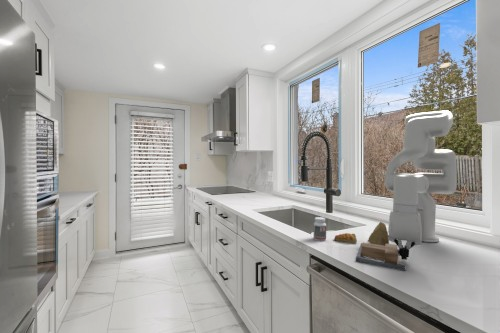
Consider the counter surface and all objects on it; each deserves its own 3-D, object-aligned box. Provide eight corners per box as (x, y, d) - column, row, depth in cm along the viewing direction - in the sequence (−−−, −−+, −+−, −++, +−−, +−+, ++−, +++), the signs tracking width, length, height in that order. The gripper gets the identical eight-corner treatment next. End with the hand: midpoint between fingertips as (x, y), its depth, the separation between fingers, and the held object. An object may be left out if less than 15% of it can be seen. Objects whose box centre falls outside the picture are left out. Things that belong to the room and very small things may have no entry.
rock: (396, 246, 98) (395, 236, 107) (382, 228, 100) (382, 220, 108) (372, 257, 103) (373, 247, 112) (359, 240, 105) (360, 231, 113)
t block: (363, 249, 101) (363, 239, 101) (397, 255, 95) (397, 245, 95) (360, 259, 90) (360, 248, 90) (397, 266, 84) (398, 255, 84)
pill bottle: (328, 240, 112) (329, 219, 112) (317, 241, 110) (318, 220, 110) (321, 237, 117) (321, 216, 117) (311, 237, 116) (311, 217, 115)
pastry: (335, 243, 109) (336, 234, 109) (333, 238, 116) (333, 230, 116) (357, 244, 108) (358, 235, 108) (353, 239, 114) (354, 231, 114)
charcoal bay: (361, 246, 104) (361, 243, 104) (402, 253, 97) (402, 249, 97) (355, 261, 89) (355, 257, 88) (405, 271, 81) (405, 266, 81)
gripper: (428, 209, 88) (427, 259, 88) (381, 205, 95) (380, 251, 96) (432, 212, 81) (430, 266, 82) (381, 208, 89) (380, 258, 89)
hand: (403, 258), depth 89 cm, fingers closed
